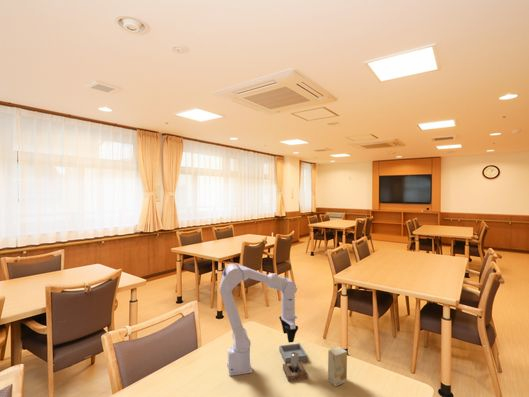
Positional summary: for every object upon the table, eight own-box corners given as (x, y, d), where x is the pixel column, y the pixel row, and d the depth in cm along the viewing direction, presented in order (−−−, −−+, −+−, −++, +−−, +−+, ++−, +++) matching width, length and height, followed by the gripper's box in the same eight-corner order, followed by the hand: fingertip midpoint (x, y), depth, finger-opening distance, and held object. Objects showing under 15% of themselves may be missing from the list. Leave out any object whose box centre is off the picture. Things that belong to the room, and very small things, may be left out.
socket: (288, 381, 112) (288, 376, 111) (282, 368, 119) (282, 364, 119) (307, 378, 113) (307, 373, 113) (300, 366, 121) (300, 361, 121)
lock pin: (292, 376, 114) (292, 357, 114) (290, 371, 117) (290, 352, 117) (299, 375, 115) (299, 356, 115) (297, 370, 118) (297, 351, 118)
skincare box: (334, 387, 108) (334, 355, 108) (327, 380, 112) (327, 350, 112) (347, 381, 111) (347, 351, 111) (339, 375, 115) (339, 345, 114)
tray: (285, 363, 123) (285, 358, 123) (279, 350, 132) (279, 345, 132) (307, 360, 125) (307, 355, 125) (299, 348, 135) (299, 343, 134)
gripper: (302, 313, 118) (302, 345, 118) (292, 299, 132) (292, 328, 133) (286, 314, 117) (286, 347, 117) (277, 301, 131) (277, 330, 131)
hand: (288, 337), depth 125 cm, fingers open, 7 cm apart
